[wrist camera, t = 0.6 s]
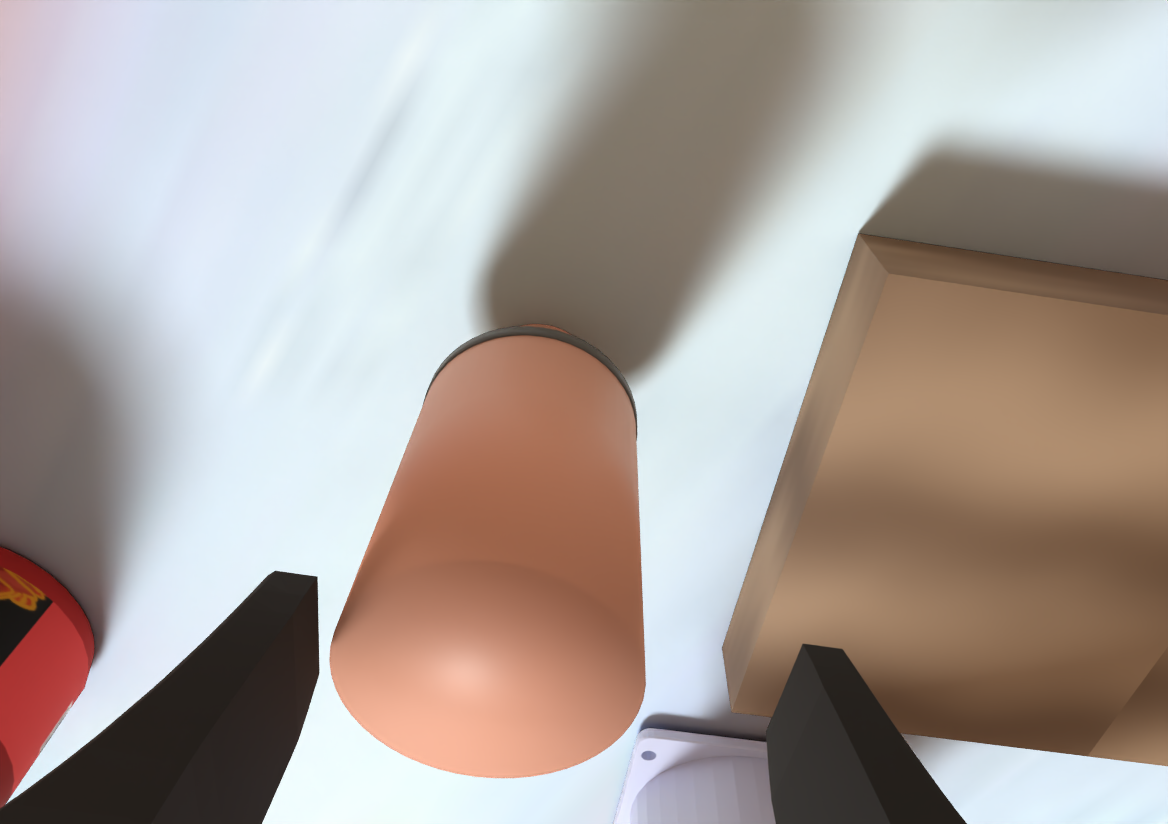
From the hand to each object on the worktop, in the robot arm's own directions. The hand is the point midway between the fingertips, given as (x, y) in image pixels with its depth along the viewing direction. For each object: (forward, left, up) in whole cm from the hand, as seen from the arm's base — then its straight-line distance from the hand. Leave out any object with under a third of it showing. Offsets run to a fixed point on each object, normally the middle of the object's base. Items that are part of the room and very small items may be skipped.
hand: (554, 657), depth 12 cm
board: (-3, -16, -10) cm, 19 cm away
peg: (-1, +1, -10) cm, 10 cm away
